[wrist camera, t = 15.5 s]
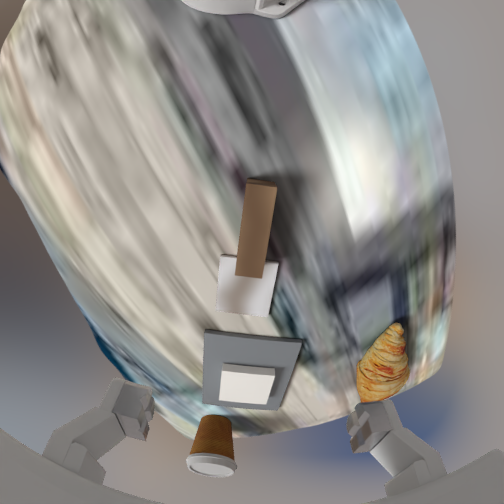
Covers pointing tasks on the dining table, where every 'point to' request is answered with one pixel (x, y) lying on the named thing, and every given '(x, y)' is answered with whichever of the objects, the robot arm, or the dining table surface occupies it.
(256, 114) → the dining table surface
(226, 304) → the wooden handled scraper
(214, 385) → the slate board
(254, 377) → the tile
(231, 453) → the disposable coffee cup
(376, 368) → the croissant
